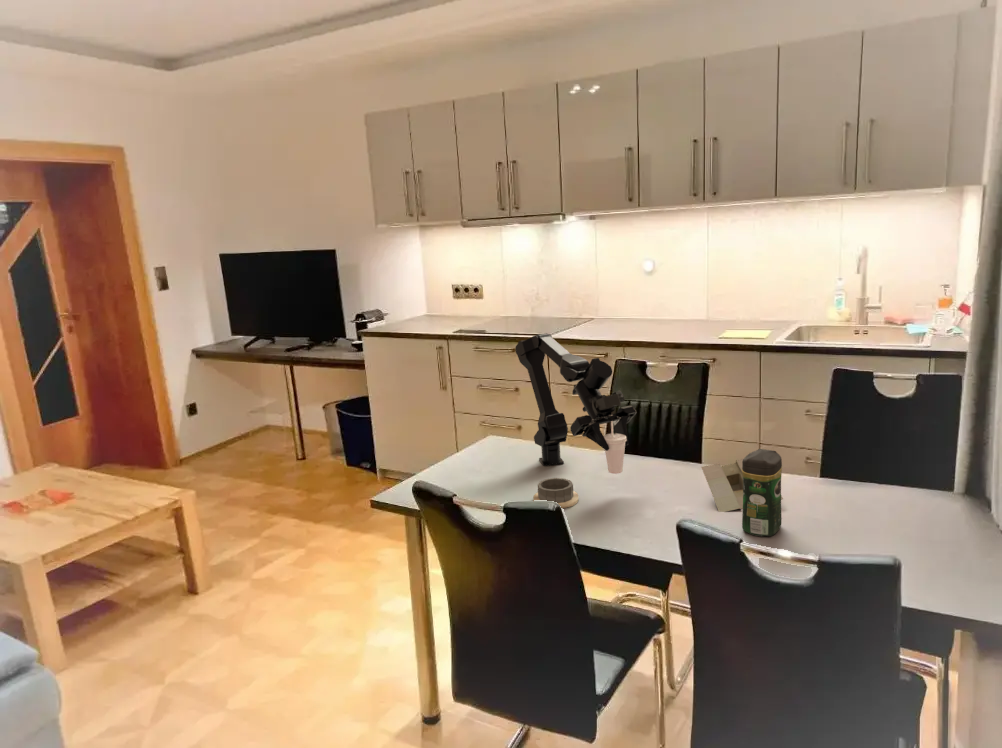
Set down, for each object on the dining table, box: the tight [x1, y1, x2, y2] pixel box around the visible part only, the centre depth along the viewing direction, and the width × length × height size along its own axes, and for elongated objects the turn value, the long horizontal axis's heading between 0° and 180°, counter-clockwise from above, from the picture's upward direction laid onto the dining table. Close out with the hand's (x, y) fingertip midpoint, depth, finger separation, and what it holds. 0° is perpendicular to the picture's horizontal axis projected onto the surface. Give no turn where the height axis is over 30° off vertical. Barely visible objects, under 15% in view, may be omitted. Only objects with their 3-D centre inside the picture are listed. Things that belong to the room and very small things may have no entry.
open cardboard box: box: [701, 458, 784, 513], centre depth 183 cm, size 16×9×15 cm
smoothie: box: [603, 421, 627, 475], centre depth 189 cm, size 6×6×14 cm
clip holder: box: [532, 477, 580, 509], centre depth 189 cm, size 12×12×4 cm
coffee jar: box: [741, 448, 783, 537], centre depth 163 cm, size 10×8×19 cm
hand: (617, 447), depth 188 cm, fingers closed on smoothie, 6 cm apart
